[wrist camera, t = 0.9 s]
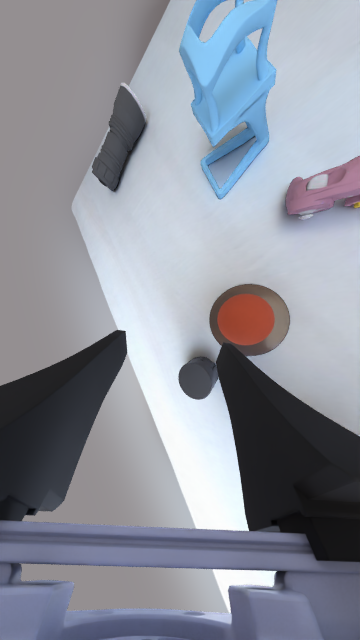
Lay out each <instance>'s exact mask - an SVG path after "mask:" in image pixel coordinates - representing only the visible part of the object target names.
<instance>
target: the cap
mask: <svg viewBox="0 0 360 640" xmlns="http://www.w3.org/2000/svg"><path fill="white" fill-rule="evenodd" d="M217 379H218V373H217V368H216V365H215V364H214V363H213V362H212V361H210V360H209V359H208V358H207V357H206V358H205V357H197V358H194V359H192V360H191V361H189V362H188V363H187V364H185V365H184V366H183V367H182V368H181V370H180V372H179V384H180V386H181V388H182V390H183V391H184V393H185V394H186V395H188V396H189V397H191V398H193V399H204V398H206V397H207V396H208V395H209V394H210V392H211V390H212V388H213V387H214V384H215V383H216V381H217Z"/></svg>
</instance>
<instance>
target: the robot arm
mask: <svg viewBox="0 0 360 640" xmlns="http://www.w3.org/2000/svg"><path fill="white" fill-rule="evenodd" d="M126 354H127V344H126V331H121V330H116V331H114V332H113V333H111V334H109V335H108V336H106V337H104V338H103V339H101V340H99V341H98V342H96V343H94V344H93V345H91V346H90V347H87V348H85V349H84V350H82V351H80V352H78V353H76V354H75V355H73V356H71V357H69V358H67V359H65V360H63V361H60V362H58V363H56V364H54V365H52V366H50V367H47V368H45V369H43V370H40V371H38V372H35V373H33V374H30V375H28V376H25V377H23V378H20V379H18V380H15V381H13V382H10V383H7V384H4V385H2V386H0V640H360V436H358V435H356V434H354V433H353V432H351V431H349V430H347V429H345V428H344V427H342V426H340V425H339V424H337V423H335V422H334V421H332V420H330V419H329V418H327V417H325V416H324V415H322V414H321V413H319V412H317V411H316V410H314V409H313V408H311V407H310V406H308V405H307V404H305V403H304V402H302V401H301V400H299V399H298V398H296V397H295V396H293V395H292V394H290V393H289V392H288V391H286V390H285V389H284V388H282V387H281V386H280V385H278V384H277V383H276V382H274V381H273V380H272V379H271V378H269V377H268V376H267V375H266V374H265V373H263V372H262V371H261V370H260V369H259V368H258V367H257V366H255V365H254V364H253V363H252V362H251V361H250V360H249V359H248V358H247V357H246V356H245V355H243V354H242V353H241V352H240V351H239V350H238V349H237V348H236V347H235V346H234V345H233V344H231V343H224V342H223V344H222V347H221V350H220V353H219V355H218V358H217V361H216V366H217V372H218V377H219V380H220V383H221V387H222V390H223V393H224V397H225V400H226V403H227V407H228V411H229V415H230V419H231V424H232V429H233V435H234V440H235V446H236V451H237V457H238V464H239V470H240V477H241V484H242V492H243V499H244V508H245V515H246V520H247V524H248V528H249V531H230V530H207V529H184V528H162V527H139V526H116V525H94V524H93V525H92V524H71V523H49V522H26V521H22V519H23V518H24V516H25V515H36V513H37V512H38V511H53V510H55V509H56V508H57V507H58V506H59V505H60V504H61V503H62V502H63V501H64V499H65V496H66V493H67V490H68V488H69V485H70V482H71V480H72V477H73V474H74V471H75V469H76V466H77V463H78V461H79V458H80V456H81V453H82V450H83V448H84V445H85V443H86V440H87V437H88V435H89V433H90V430H91V428H92V425H93V423H94V421H95V418H96V416H97V414H98V411H99V409H100V407H101V404H102V402H103V400H104V398H105V396H106V394H107V392H108V391H109V389H110V387H111V385H112V383H113V381H114V379H115V378H116V376H117V374H118V372H119V370H120V369H121V367H122V365H123V362H124V360H125V357H126ZM19 563H26V564H60V565H61V564H62V565H94V566H95V565H96V566H128V567H164V568H197V569H198V568H199V569H231V570H266V571H277V572H276V573H275V577H274V580H275V583H274V586H273V587H267V586H258V585H236V586H229V589H228V592H229V600H230V607H231V613H216V612H202V611H187V610H172V609H104V610H81V611H67V608H68V605H69V602H70V598H71V595H72V592H73V589H74V582H69V581H58V580H35V581H21V580H20V578H21V572H22V567H21V564H19Z"/></svg>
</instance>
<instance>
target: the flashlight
mask: <svg viewBox="0 0 360 640" xmlns="http://www.w3.org/2000/svg"><path fill="white" fill-rule="evenodd" d="M145 122H146V115H145V112H144V110H143V108H142V106H141V104H140V102H139V100H138V98H137V97H136V95H135V94H134V93H133V91H132V90H131V89H130V88H129V87H128V86H127V85H126V84H125V83H121V86H120V89H119V91H118V94H117V97H116V100H115V102H114V109H113V115H111V118H110V121H109V126H110V132H108V134H107V137H106V139H105V142H104V145H102V149H101V153H99V154H98V157H95V160H94V162H93V165H92V168H93V171H92V173H93V174H94V175H95V176H96V177H97V178H98V179H99V181H100V182H101V183H102V184H103V185H104V186H107V187H108V188H109V189H111V190H112V191H113V189H116V186H117V184H118V182H119V179H118V178H119V175H120V171H121V169H122V168H123V167H122V166H123V164H124V161H125V159H126V157H127V152H128V150H129V151H131V150H132V148H133V145H134V142H135V141H136V140H137V138H138V137H139V136H140V133H141V131H142V129H143V126H144V124H145Z"/></svg>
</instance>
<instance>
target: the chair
mask: <svg viewBox="0 0 360 640" xmlns="http://www.w3.org/2000/svg"><path fill="white" fill-rule="evenodd" d="M224 1H226V0H196V2H195V4H194V7H193V9H192V11H191V14H190V16H189V19H188V22H187V25H186V28H185V31H184V34H183V38H182V41H181V44H180V48H179V52H180V55H181V57H182V60H183V62H184V65H185V67H186V70H187V72H188V74H189V76H190V79H191V81H192V84H193V88H194V94H195V99H194V100H193V102H192V103H191V107H192V110H193V114H194V116H195V117H196V119H197V121H198V122H199V123H200V125H201V126H202V128H203V130H204V131H205V133H206V135H207V137H208V139H209V141H210V142H211V144H212V146H213V147H214V146H215V145H216V144H217V143H218V142H219V141H220V140H221V139H222V138H223V137H224V136H225V135H226V134H227V132H229V131H230V130H232V129H233V128H234V127H236V126H237V125H239V124H240V123H242V122H245V123H246V125H247V128H246V129H245V130H243V131H242V132H240V133H239V134H238V135H236V136H235V137H233V138H232V139H230V140H229V141H227V142H226V143H224V144H223V145H221V146H220V147H218V148H217V149H215V150H214V151H212V152H211V153H209V154H208V155H207V156H206V157H204V158H203V159H202V160H201V166H202V169H203V171H204V173H205V174H206V176H207V178H208V180H209V182H210V184H211V185H212V187H213V189H214V191H215V193H216V194H217V196H218V198H219V199H222V198H223V197H224V196H225V195H226V194H227V193H228V191H229V190H230V189H231V188H232V186H233V185H234V184H235V183H236V181H237V180H238V179H239V177H240V176H241V175H242V174H243V172H244V171H245V170H246V168H247V167H248V166H249V165H250V163H251V162H252V161H253V160H254V158H255V157H256V156H257V155H258V154H259V152H260V151H261V150H262V149H263V148H264V147H265V146H266V144H267V143H268V141H269V131H268V126H267V120H266V111H265V104H266V99H267V95H268V93H269V90H270V89H271V88H272V87H273V86H274V85H275V77H276V69H275V68H274V66H273V65H272V64H271V63H270V62H269V61H268V60H267V45H268V39H269V34H270V30H271V26H272V22H273V17H274V12H275V8H276V4H277V0H253V1H249V2H246V3H244V0H236V1H235V8H234V9H233V10H231V11H230V13H229V14H228V15H227V16H226V17H225V19H224V20H223V21H222V23H221V24H220V26H219V27H218V29H217V30H216V31H215V33H214V34H213V36H212V37H211V38H210V39H209V40H208V41H207V42H206V43H205V42H201V41H200V40H199V35H200V33H201V30H202V28H203V25H204V23H205V21H206V19H207V17H208V16H209V14H210V13H211V11H212V10H213V9H214V8H215V7H216V6H217V5H219V4H220V3H222V2H224ZM261 28H263V29H262V33H261V37H260V41H259V45H258V50H257V49H256V48H255V46H254V45H253V44H252V42H251V41H250V40H249V39H248V37H247V36H248V35H249V34H251V33H252V32H254V31H256V30H258V29H261ZM254 136H256V139H257V140H256V141H255V143H254V144H253V145H252V147H251V148H250V149H249V151H248V152H247V154H246V155H245V156H244V158H243V159H242V160H241V162H240V163H239V165H238V166H237V167H236V169H235V170H234V172H233V173H232V174H231V176H230V177H229V179H228V180H227V181H226V183H225V184H224V185H223V187H222V188H221V189H220V188H219V187H218V185H217V183H216V181H215V179H214V178H213V176H212V174H211V172H210V170H209V168H208V165H209V164H210V163H212V162H214V161H215V160H217V159H219V158H220V157H222V156H224V155H225V154H227V153H229V152H231V151H232V150H234V149H236V148H237V147H239V146H240V145H242V144H244V143H245V142H247V141H248V140H250V139H251V138H252V137H254Z"/></svg>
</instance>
